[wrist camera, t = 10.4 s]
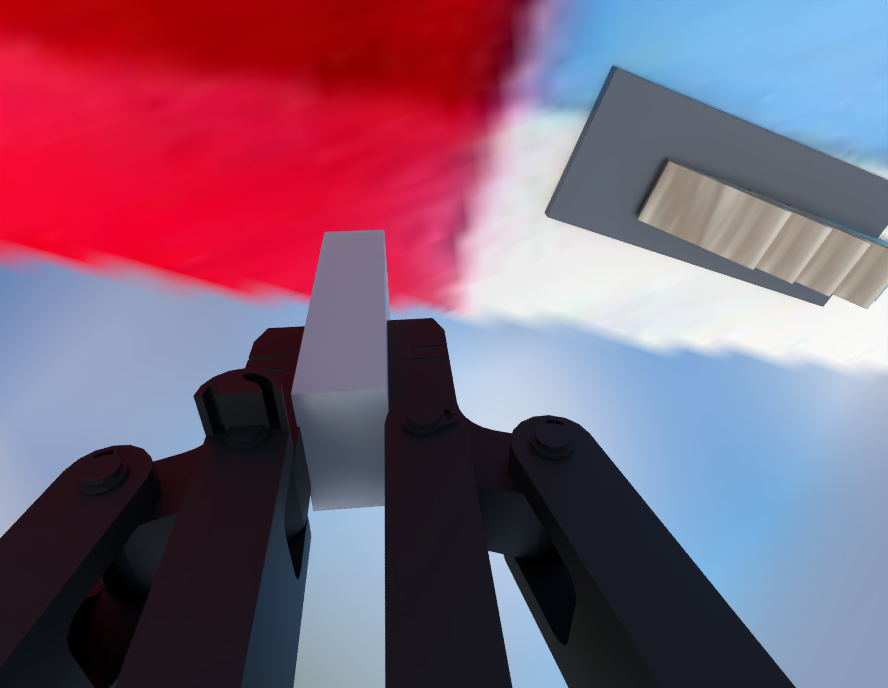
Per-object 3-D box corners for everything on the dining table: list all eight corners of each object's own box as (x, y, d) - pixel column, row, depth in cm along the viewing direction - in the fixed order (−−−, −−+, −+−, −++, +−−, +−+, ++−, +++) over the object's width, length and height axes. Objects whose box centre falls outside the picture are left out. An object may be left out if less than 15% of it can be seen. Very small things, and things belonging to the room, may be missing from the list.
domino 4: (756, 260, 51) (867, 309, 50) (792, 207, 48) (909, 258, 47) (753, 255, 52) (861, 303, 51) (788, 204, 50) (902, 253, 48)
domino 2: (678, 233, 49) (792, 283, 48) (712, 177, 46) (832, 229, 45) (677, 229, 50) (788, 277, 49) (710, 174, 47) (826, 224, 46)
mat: (544, 212, 49) (547, 217, 48) (612, 66, 43) (617, 68, 42) (816, 301, 57) (823, 306, 56) (905, 187, 51) (914, 191, 50)
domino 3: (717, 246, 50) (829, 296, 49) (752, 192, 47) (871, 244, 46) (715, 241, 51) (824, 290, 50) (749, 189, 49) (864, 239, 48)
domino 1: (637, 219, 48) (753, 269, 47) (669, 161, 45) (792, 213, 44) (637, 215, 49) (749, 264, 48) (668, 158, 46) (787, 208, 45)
